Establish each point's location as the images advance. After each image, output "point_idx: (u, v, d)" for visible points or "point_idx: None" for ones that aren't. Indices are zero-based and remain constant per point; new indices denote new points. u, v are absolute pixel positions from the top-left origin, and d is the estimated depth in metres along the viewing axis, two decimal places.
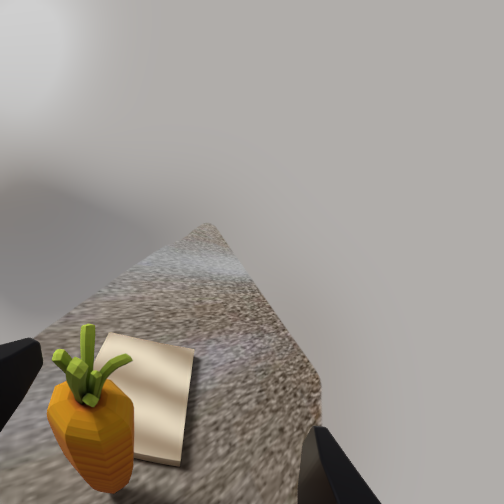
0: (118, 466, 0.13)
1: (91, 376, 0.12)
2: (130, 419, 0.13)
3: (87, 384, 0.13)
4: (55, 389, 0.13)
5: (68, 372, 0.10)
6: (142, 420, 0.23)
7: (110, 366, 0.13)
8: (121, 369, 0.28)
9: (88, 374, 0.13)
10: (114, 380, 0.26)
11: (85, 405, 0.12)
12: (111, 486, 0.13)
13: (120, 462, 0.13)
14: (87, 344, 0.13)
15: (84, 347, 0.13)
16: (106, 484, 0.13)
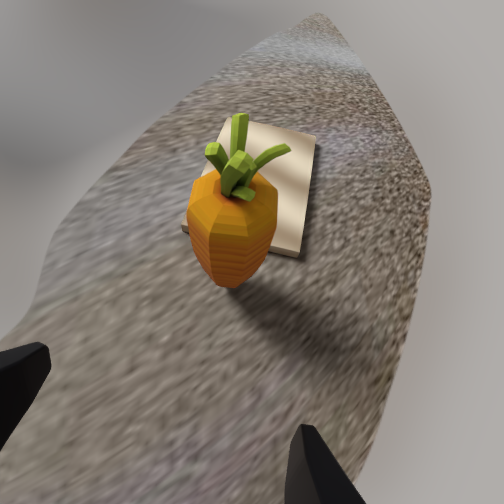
0: (253, 260, 0.18)
1: None
2: (277, 211, 0.16)
3: None
4: (196, 184, 0.16)
5: (230, 167, 0.12)
6: None
7: (267, 156, 0.14)
8: None
9: None
10: None
11: (232, 198, 0.15)
12: (238, 281, 0.20)
13: (257, 256, 0.18)
14: (240, 134, 0.14)
15: (237, 137, 0.14)
16: (234, 280, 0.20)
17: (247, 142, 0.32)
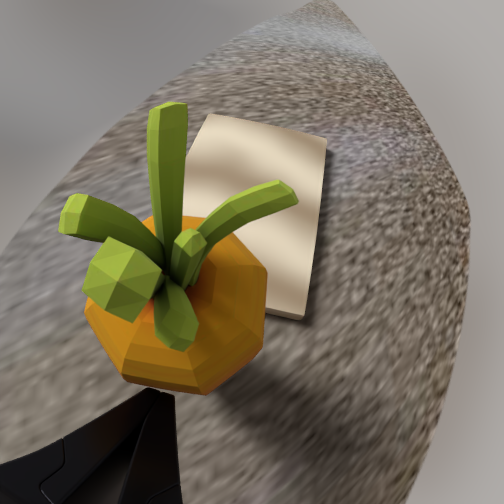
0: None
1: (177, 249, 0.05)
2: (263, 318, 0.08)
3: (168, 252, 0.07)
4: None
5: (91, 295, 0.03)
6: (254, 246, 0.19)
7: (233, 217, 0.05)
8: (225, 165, 0.22)
9: (170, 230, 0.06)
10: (215, 182, 0.21)
11: None
12: None
13: (229, 377, 0.09)
14: (166, 158, 0.05)
15: (158, 167, 0.05)
16: None
17: (233, 147, 0.23)
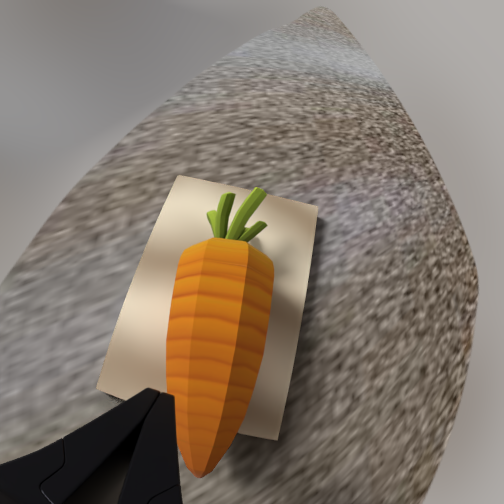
0: None
1: None
2: None
3: None
4: (192, 245, 0.15)
5: (257, 190, 0.17)
6: None
7: (245, 230, 0.19)
8: None
9: None
10: None
11: None
12: (255, 381, 0.13)
13: None
14: None
15: None
16: (252, 375, 0.13)
17: (204, 226, 0.20)
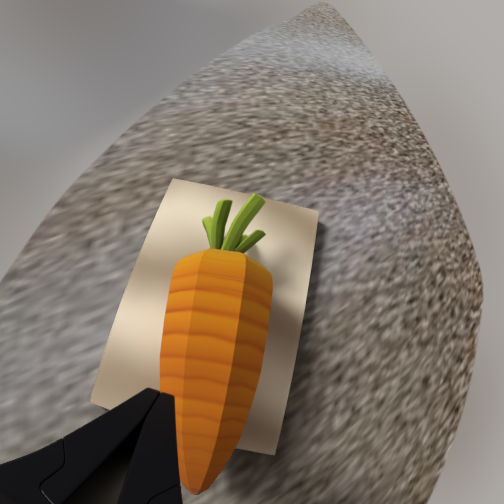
0: None
1: None
2: None
3: None
4: (186, 256, 0.14)
5: (255, 197, 0.16)
6: None
7: (242, 238, 0.18)
8: None
9: None
10: None
11: None
12: (252, 400, 0.12)
13: None
14: None
15: None
16: (249, 393, 0.12)
17: (199, 233, 0.19)
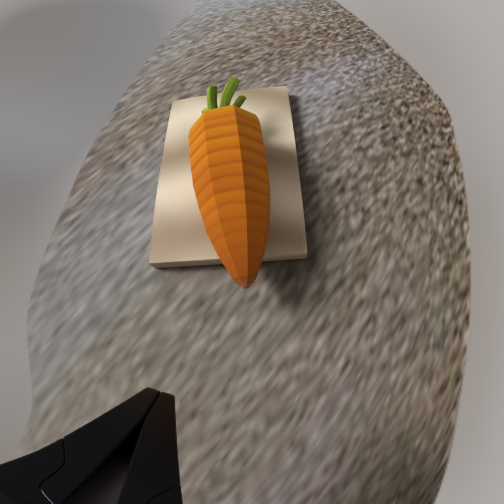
0: None
1: None
2: None
3: None
4: (195, 123, 0.19)
5: (231, 78, 0.20)
6: None
7: None
8: None
9: None
10: None
11: None
12: (267, 190, 0.17)
13: None
14: None
15: None
16: (262, 184, 0.17)
17: None
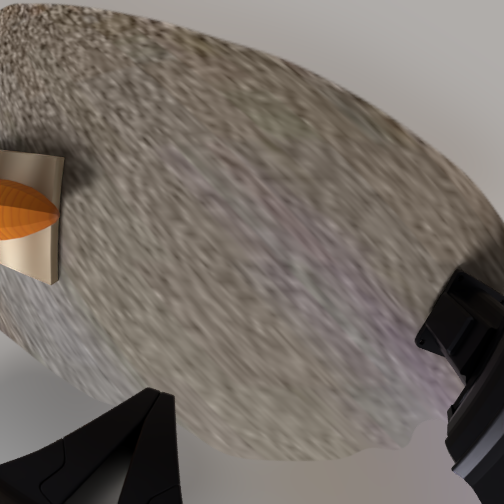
0: None
1: None
2: None
3: None
4: None
5: None
6: None
7: None
8: None
9: None
10: None
11: None
12: (3, 186, 0.16)
13: None
14: None
15: None
16: None
17: None
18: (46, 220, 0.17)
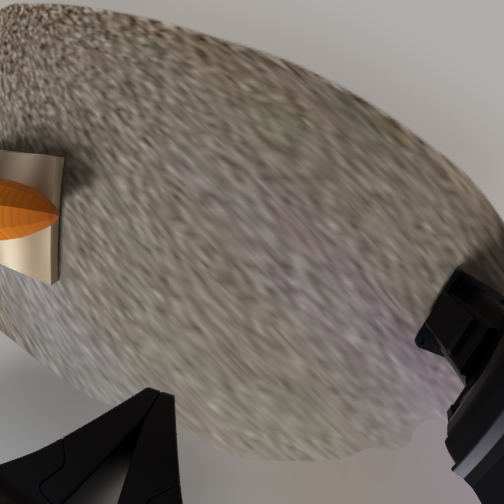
0: None
1: None
2: None
3: None
4: None
5: None
6: None
7: None
8: None
9: None
10: None
11: None
12: (3, 186, 0.16)
13: None
14: None
15: None
16: None
17: None
18: (46, 220, 0.17)
